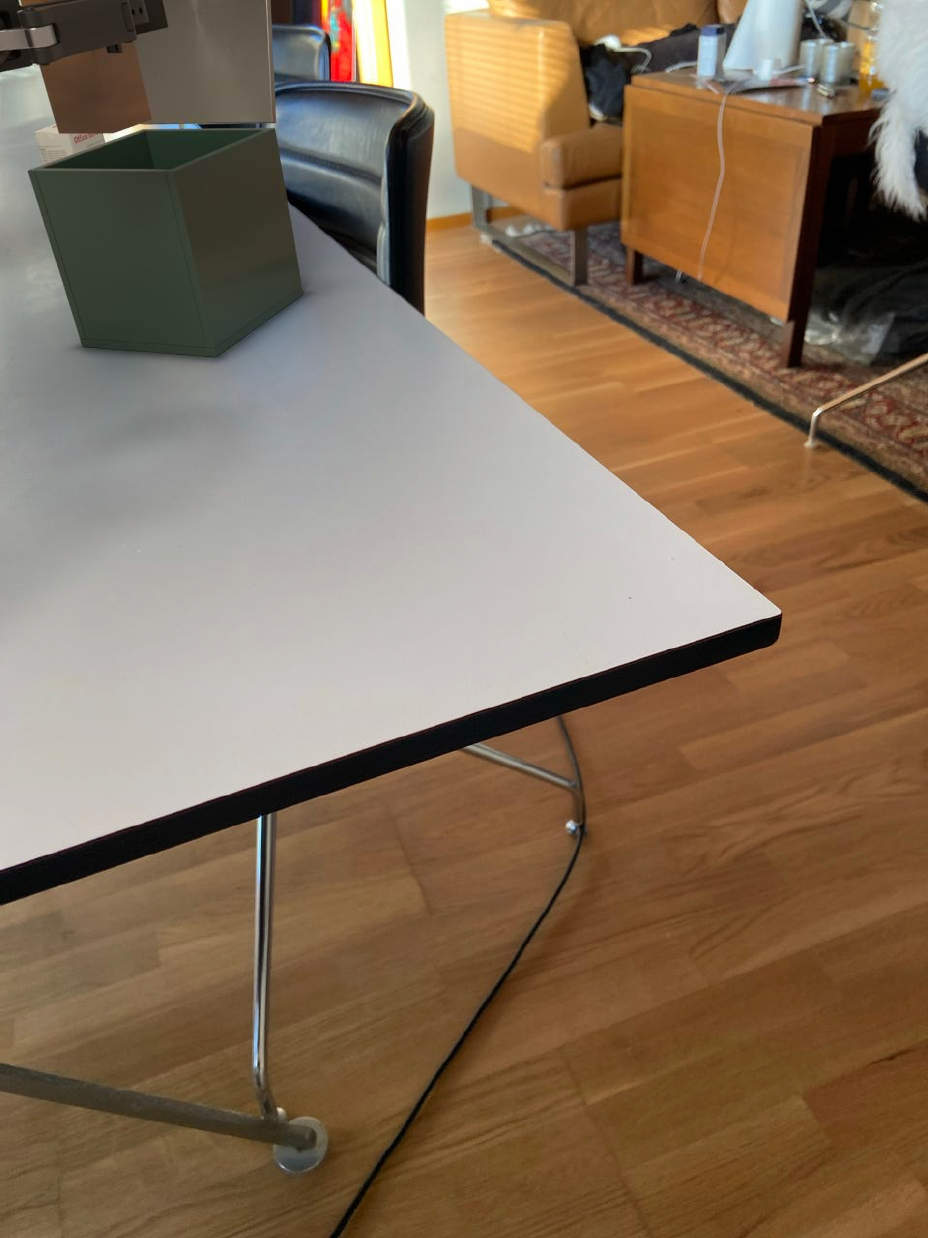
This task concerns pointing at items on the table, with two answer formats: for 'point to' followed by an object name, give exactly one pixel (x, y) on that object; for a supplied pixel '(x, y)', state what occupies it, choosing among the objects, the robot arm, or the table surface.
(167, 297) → the trash can
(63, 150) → the ink box
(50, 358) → the table surface
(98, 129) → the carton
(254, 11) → the bin lid
